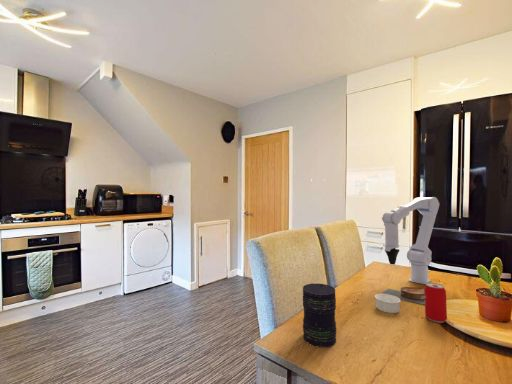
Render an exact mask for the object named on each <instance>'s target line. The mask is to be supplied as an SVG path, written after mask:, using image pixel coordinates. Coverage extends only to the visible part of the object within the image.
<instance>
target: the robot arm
mask: <svg viewBox="0 0 512 384" xmlns="http://www.w3.org/2000/svg"><path fill="white" fill-rule="evenodd" d="M440 205H441V203H440V202H439V199H438V198H437V197H436V196H432V197H429V196H428V197H419V196H418V197H415V198H413V200H412V201H411V202H409V203H407V204H406V205H398V206H397V207H396V208H395V209H391V211H386V212H384V213H383V215H382V217H381V221H382V222H383V226H384V231H385V232H384V233H385V237H384V241H385V243H384V244H382V246H383V247H384V252H385V253H386V256H387V259H388V262H389V264H390V265H396V262H397V257H398V255H399V252H400V249H399V248H400V245H399V224H400V223H401V221H402V220H403V219H405V218H407V217H408V216H409V215H410V212H412V211H415V210H417V211H418V212H419V213H420V215H422V220H421V223H420V227H419V230H418V234H417V236H416V241H415V243H414V244H413V245H411V246H410V247H409V250H408V251H407V252H406V259H407V260H408V261H409V264H410V278H409V279H408V282H412V283H417V284H422V285H426V283H431V279H429V268H428V266H429V265H430V264H431V262H432V259H433V258H432V253H433V252H432V250H431V249H430V248H429V243H430V239H431V236H432V233H433V228H434V225H435V222H436V218H437V215H438V211H439V208H440Z"/></svg>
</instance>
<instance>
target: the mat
mask: <svg viewBox="0 0 512 384" xmlns="http://www.w3.org/2000/svg"><path fill="white" fill-rule="evenodd" d="M380 294H389V295H393V296H396V297H398V298H399V299H400V300H401V301H405V302H409V303H414V304H418V305H422V306H425V300H415V299H409V298H406V297H404V296H403V295H402V294H401V290H398V289H393V288H387V289H385V290H384V291H383V292H381V293H380Z"/></svg>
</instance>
